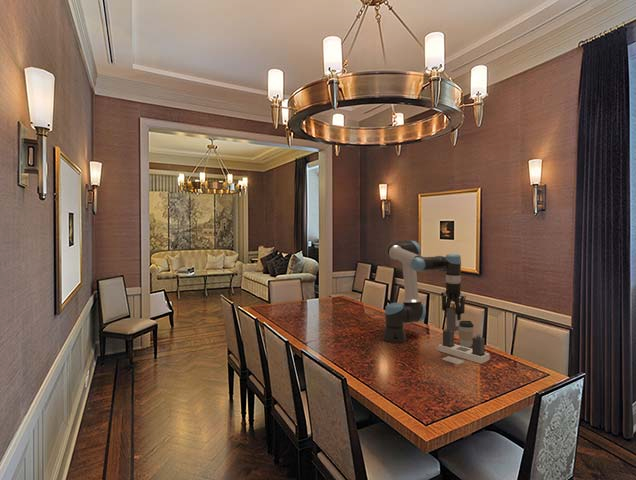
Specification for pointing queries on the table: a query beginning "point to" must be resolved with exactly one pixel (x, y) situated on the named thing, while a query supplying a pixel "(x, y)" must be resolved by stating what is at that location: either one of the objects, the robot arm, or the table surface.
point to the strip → (464, 348)
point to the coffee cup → (465, 333)
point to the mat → (453, 360)
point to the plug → (451, 318)
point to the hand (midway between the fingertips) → (452, 324)
